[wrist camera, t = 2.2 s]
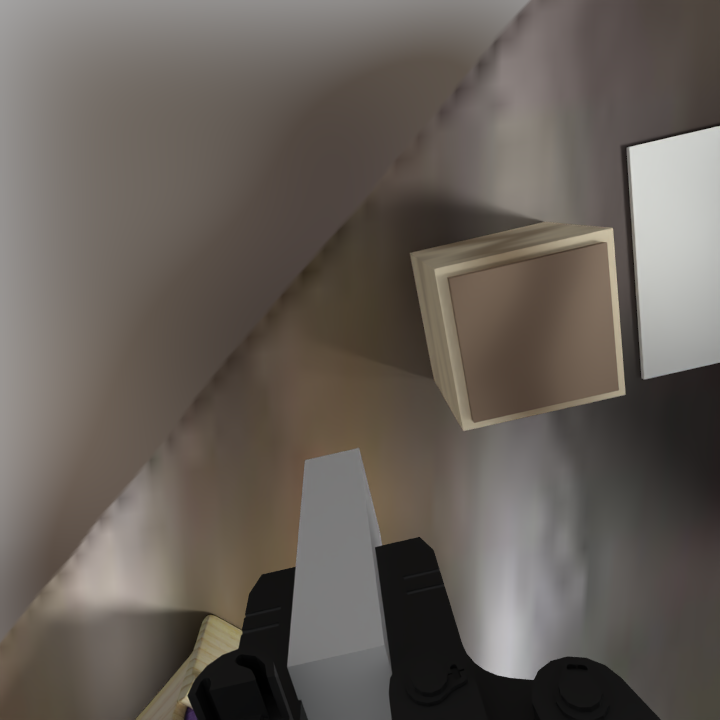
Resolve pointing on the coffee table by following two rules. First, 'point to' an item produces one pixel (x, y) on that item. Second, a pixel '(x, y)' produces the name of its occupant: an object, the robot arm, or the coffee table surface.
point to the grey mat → (676, 250)
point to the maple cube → (522, 321)
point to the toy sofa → (192, 671)
